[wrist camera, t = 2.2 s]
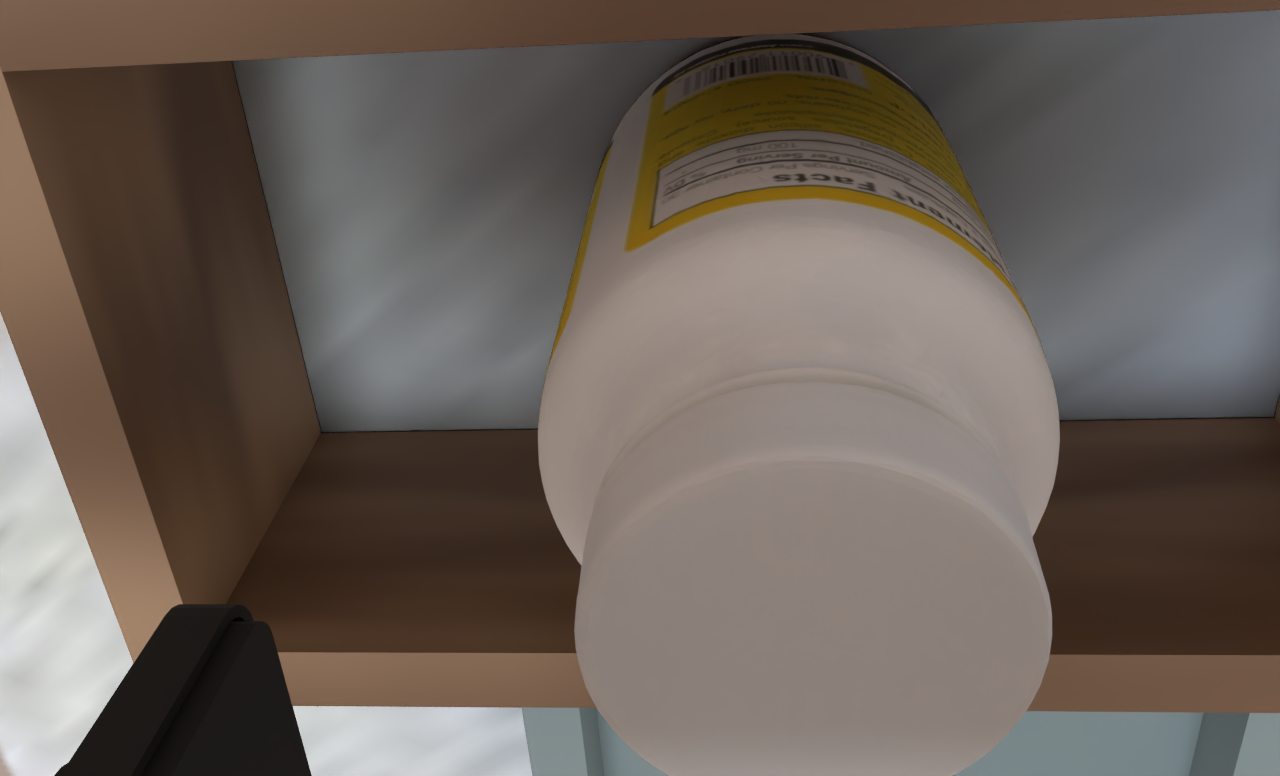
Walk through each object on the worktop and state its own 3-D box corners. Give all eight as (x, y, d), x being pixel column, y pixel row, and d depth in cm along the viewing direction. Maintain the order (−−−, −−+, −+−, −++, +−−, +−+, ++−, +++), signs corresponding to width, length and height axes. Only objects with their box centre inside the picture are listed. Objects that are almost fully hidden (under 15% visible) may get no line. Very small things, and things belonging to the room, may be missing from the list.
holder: (119, -112, 17) (-127, -23, 12) (1505, -200, 15) (1854, -138, 10) (278, 480, 22) (149, 704, 17) (1325, 468, 20) (1503, 715, 15)
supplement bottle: (778, 416, 20) (800, 943, 12) (528, 211, 19) (351, 652, 10) (1035, 194, 18) (1284, 656, 10) (774, -60, 16) (801, 227, 8)
